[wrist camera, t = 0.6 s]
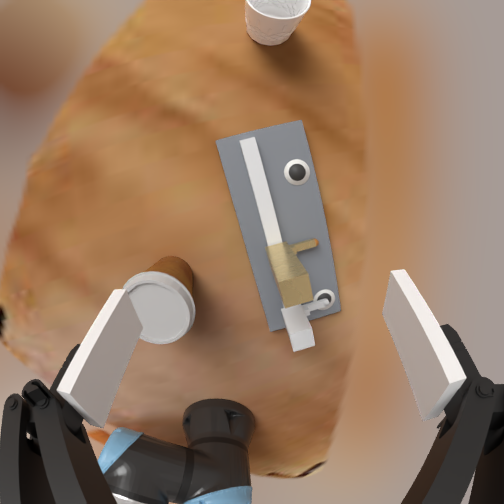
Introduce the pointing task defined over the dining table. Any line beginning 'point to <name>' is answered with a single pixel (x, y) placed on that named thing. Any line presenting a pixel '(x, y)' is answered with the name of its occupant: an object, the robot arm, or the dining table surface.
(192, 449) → the robot arm
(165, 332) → the disposable coffee cup
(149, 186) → the dining table surface
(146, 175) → the dining table surface
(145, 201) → the dining table surface
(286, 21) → the white cup
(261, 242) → the gauge plate
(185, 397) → the dining table surface
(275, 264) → the gold pointer slider
